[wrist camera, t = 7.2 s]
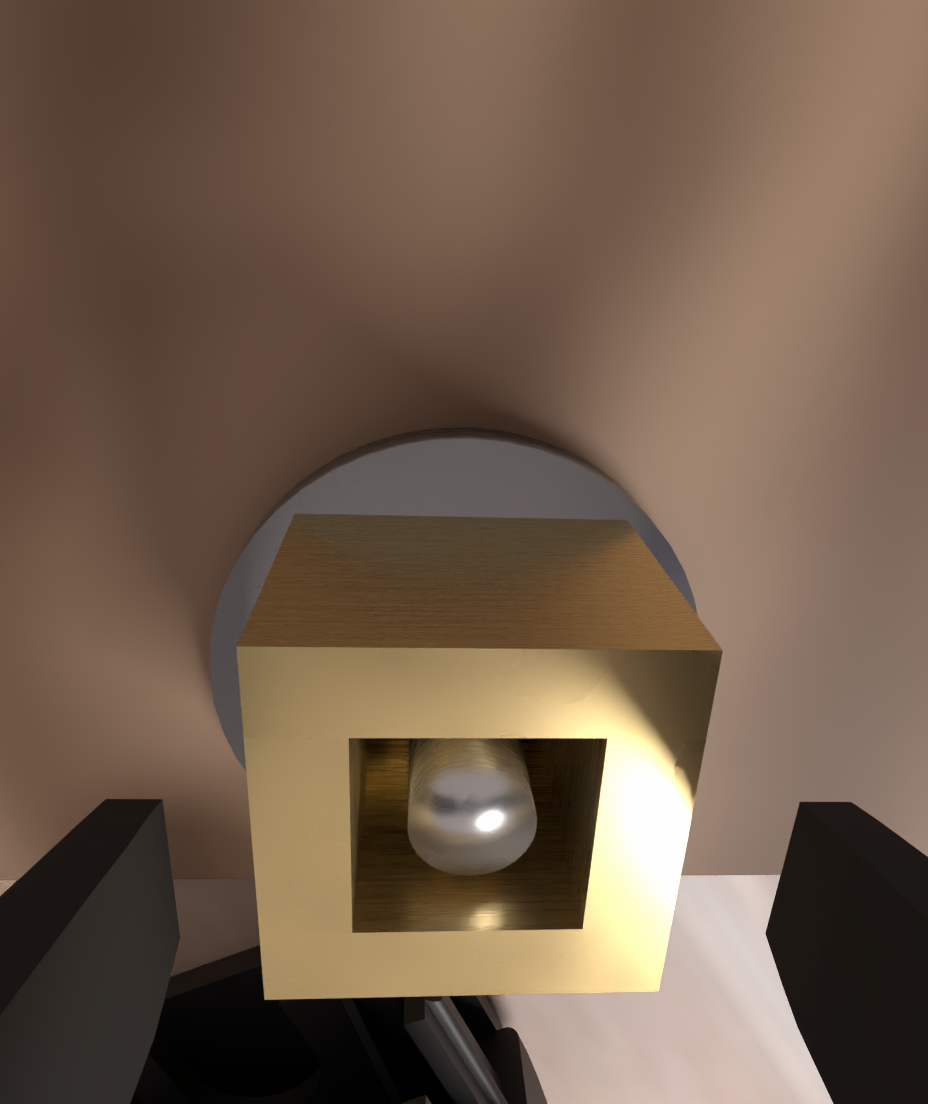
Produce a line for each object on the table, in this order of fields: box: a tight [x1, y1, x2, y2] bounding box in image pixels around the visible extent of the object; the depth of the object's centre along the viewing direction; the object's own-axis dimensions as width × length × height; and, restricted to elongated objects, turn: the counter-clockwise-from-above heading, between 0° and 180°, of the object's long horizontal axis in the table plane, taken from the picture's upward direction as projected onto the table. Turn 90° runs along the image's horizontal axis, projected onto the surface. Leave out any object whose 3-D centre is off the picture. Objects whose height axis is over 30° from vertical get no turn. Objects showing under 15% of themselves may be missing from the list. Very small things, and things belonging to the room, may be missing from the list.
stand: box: [209, 427, 698, 876], centre depth 12 cm, size 8×8×4 cm
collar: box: [236, 514, 723, 1000], centre depth 11 cm, size 5×5×4 cm
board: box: [0, 0, 928, 880], centre depth 12 cm, size 20×18×1 cm
